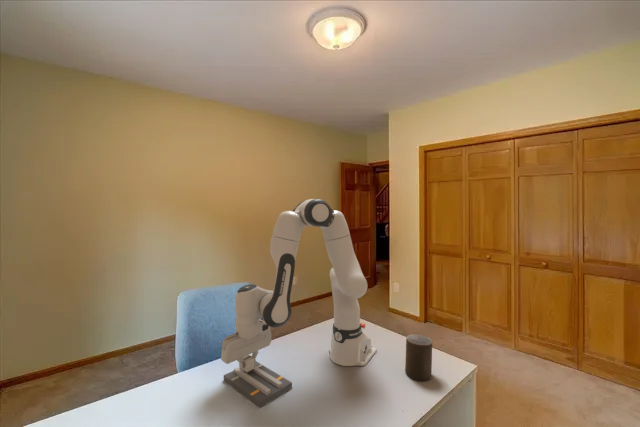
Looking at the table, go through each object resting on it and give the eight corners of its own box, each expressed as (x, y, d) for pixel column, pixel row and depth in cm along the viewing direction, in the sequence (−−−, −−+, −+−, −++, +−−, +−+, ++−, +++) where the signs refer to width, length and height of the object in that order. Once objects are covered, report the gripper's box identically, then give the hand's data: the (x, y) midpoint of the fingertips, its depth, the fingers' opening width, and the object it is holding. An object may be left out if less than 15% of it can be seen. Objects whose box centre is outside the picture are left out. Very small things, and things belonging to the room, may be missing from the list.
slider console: (254, 365, 119) (254, 357, 119) (291, 388, 105) (291, 379, 105) (223, 380, 109) (223, 372, 109) (259, 408, 94) (259, 398, 94)
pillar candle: (418, 384, 107) (419, 343, 107) (399, 370, 116) (400, 333, 116) (437, 377, 112) (438, 338, 111) (417, 365, 120) (418, 329, 120)
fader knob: (248, 367, 113) (248, 354, 113) (254, 371, 111) (254, 357, 110) (240, 371, 111) (240, 357, 111) (246, 375, 108) (246, 361, 108)
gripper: (227, 340, 100) (227, 380, 101) (273, 323, 116) (273, 357, 116) (217, 335, 105) (217, 373, 105) (263, 318, 120) (263, 352, 120)
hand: (247, 364), depth 111 cm, fingers closed on fader knob, 3 cm apart
